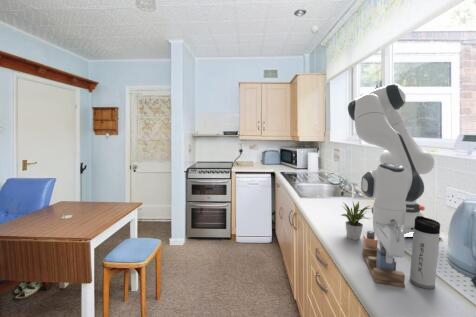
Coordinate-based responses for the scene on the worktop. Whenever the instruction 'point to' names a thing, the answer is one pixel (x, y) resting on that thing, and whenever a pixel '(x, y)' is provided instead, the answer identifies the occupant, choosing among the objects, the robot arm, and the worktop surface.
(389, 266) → the slate plug
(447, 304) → the worktop surface
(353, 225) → the house plant
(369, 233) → the pink square bottle
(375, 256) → the slotted wooden block
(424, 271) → the travel mug
